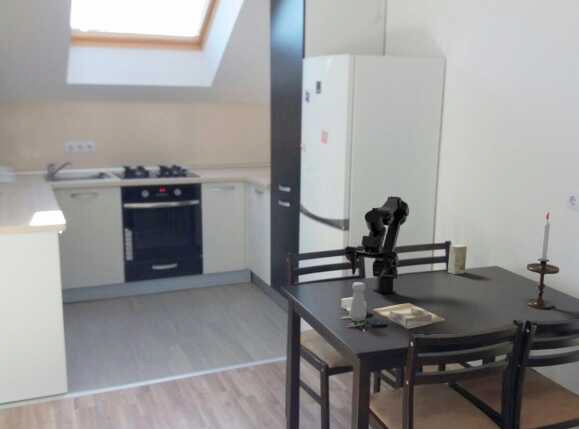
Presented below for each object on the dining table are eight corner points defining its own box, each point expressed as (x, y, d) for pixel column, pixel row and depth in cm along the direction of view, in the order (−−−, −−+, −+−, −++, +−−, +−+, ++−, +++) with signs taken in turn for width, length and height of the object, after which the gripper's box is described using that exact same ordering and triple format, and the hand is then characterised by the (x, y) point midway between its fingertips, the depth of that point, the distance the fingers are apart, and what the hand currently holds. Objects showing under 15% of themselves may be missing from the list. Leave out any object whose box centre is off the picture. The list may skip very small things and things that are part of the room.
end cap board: (373, 310, 210) (373, 302, 210) (408, 304, 218) (409, 296, 217) (407, 328, 194) (408, 319, 193) (444, 321, 201) (445, 312, 201)
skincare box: (454, 274, 257) (456, 247, 254) (447, 272, 260) (449, 245, 258) (465, 273, 259) (467, 245, 257) (458, 270, 263) (460, 243, 261)
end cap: (351, 313, 208) (352, 304, 207) (341, 307, 214) (341, 298, 213) (366, 310, 211) (366, 302, 210) (354, 304, 217) (355, 296, 216)
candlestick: (555, 311, 212) (565, 215, 205) (523, 307, 216) (531, 212, 209) (555, 302, 221) (564, 210, 215) (524, 298, 226) (532, 207, 219)
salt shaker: (365, 323, 198) (367, 286, 196) (348, 322, 199) (349, 285, 197) (366, 317, 204) (368, 281, 201) (350, 316, 205) (351, 280, 202)
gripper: (346, 223, 211) (335, 261, 203) (398, 228, 204) (388, 267, 196) (352, 241, 220) (342, 277, 212) (402, 246, 212) (393, 284, 204)
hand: (365, 276), depth 206 cm, fingers open, 9 cm apart
